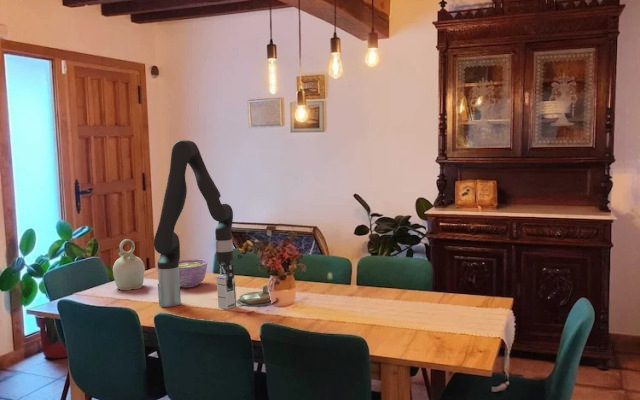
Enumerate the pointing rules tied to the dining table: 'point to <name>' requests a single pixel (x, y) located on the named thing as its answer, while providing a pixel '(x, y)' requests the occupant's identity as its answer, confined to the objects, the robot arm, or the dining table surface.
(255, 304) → the base plate
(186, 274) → the bowl of food
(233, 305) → the syrup box
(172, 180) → the robot arm
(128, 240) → the jug
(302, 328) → the dining table surface
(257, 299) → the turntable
